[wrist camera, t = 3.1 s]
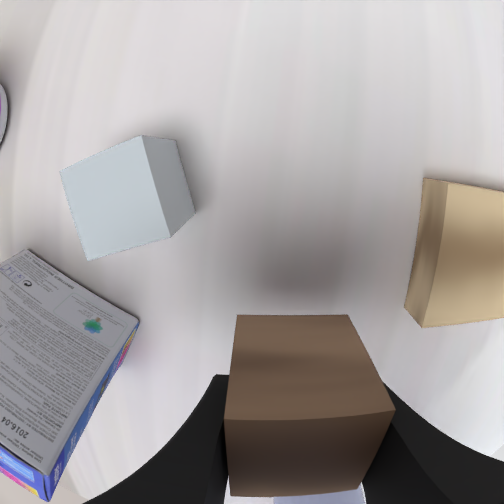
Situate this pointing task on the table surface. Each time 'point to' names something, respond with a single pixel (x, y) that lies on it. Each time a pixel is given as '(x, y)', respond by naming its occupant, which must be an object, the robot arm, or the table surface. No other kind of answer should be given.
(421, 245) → the oak slab
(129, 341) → the ink cartridge box
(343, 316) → the walnut block
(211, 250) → the table surface
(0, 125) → the supplement bottle
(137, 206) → the grey block
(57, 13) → the table surface
